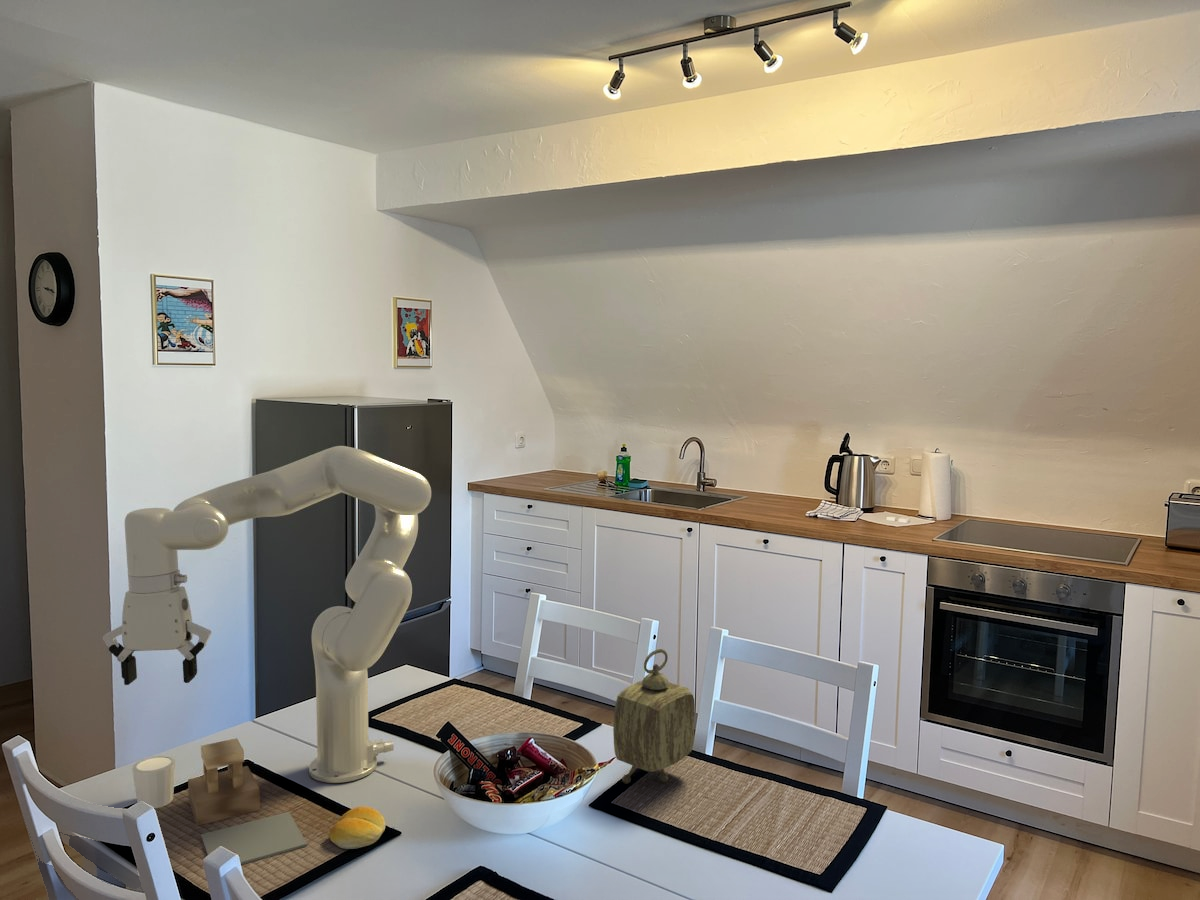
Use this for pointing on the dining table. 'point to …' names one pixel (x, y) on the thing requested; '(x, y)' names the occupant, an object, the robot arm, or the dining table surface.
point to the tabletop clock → (653, 723)
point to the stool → (222, 762)
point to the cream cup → (155, 780)
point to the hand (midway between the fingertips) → (160, 681)
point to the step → (223, 798)
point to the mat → (257, 838)
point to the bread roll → (358, 828)
